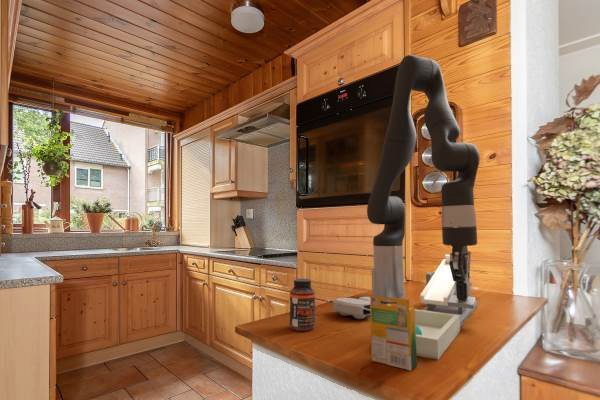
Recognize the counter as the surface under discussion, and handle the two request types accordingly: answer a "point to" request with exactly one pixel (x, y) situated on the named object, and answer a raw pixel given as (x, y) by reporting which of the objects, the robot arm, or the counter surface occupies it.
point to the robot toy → (353, 306)
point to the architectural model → (468, 288)
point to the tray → (435, 332)
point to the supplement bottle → (302, 306)
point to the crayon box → (393, 333)
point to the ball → (418, 330)
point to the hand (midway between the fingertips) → (462, 298)
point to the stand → (462, 312)
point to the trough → (444, 289)
